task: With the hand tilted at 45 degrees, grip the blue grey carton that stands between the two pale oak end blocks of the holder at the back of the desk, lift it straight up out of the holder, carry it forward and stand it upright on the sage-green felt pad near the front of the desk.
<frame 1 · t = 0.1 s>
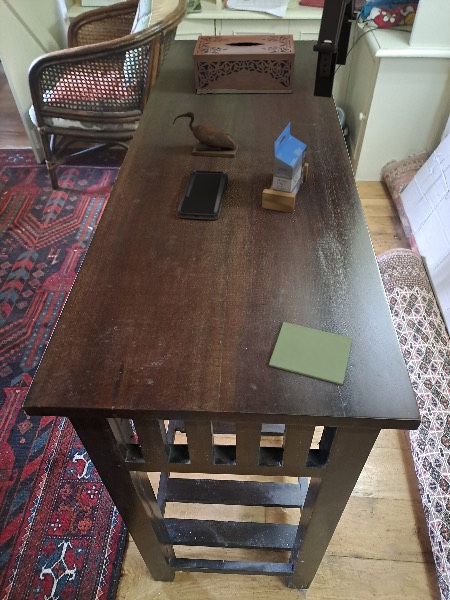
hand: (330, 79, 75), 21 cm above the table, tool pointing down, fingers open, 13 cm apart
blue grey carton: (287, 193, 91), on the table
figurine: (206, 151, 103), on the table
phone: (203, 197, 90), on the table
tape holder: (285, 192, 91), on the table
tissue box cover: (244, 84, 128), on the table
felt pad: (311, 352, 64), on the table
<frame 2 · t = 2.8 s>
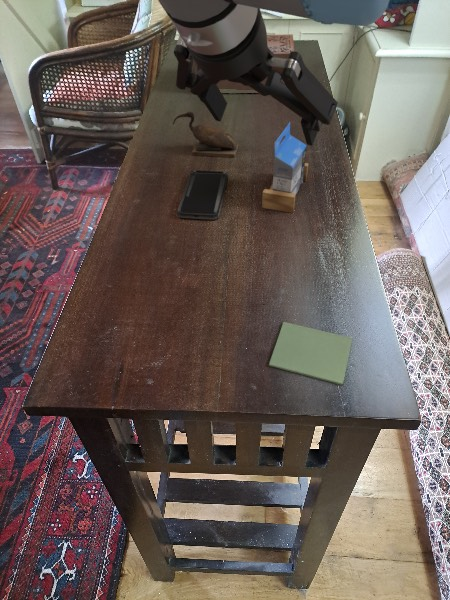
hand: (266, 123, 62), 23 cm above the table, tool tilted 40°, fingers open, 13 cm apart
nothing on the table moved.
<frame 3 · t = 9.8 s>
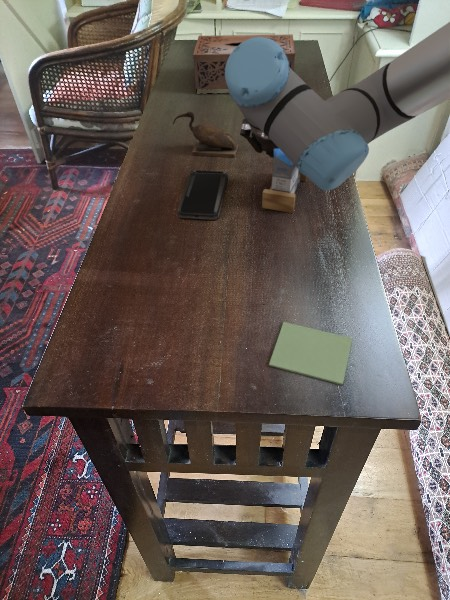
hand: (292, 161, 89), 5 cm above the table, tool tilted 45°, fingers closed on blue grey carton, 4 cm apart
blue grey carton: (285, 193, 91), on the table, touching gripper
everything else where it was.
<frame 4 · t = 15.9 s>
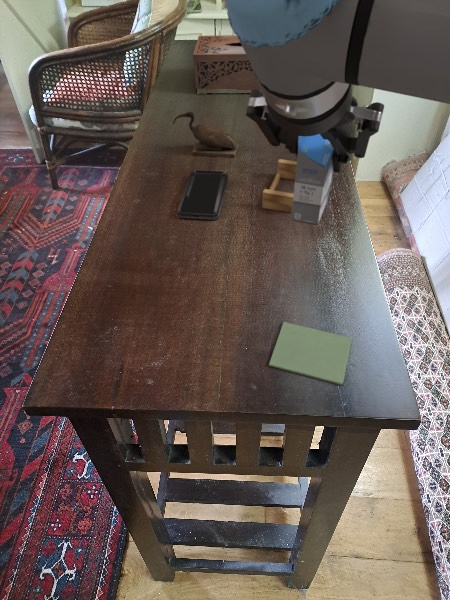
hand: (322, 159, 61), 20 cm above the table, tool tilted 45°, fingers closed on blue grey carton, 4 cm apart
blue grey carton: (311, 206, 62), point 15 cm above the table, touching gripper
everything else where it was.
when the fingers open (5 cm above the table, at t = 21.8 s): blue grey carton stays where it is, resting on felt pad.
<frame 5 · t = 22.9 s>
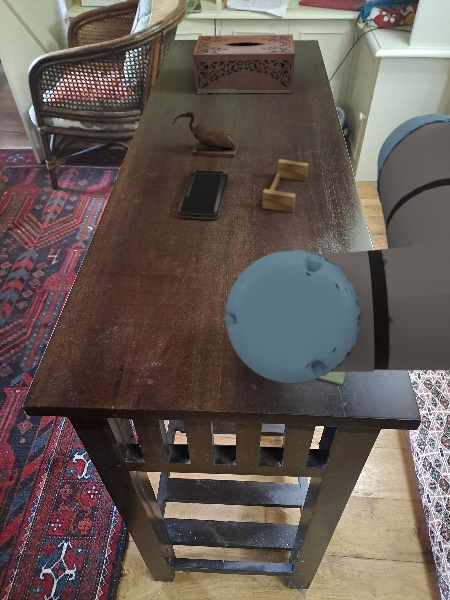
hand: (321, 305, 60), 7 cm above the table, tool tilted 45°, fingers open, 13 cm apart
blue grey carton: (310, 351, 64), resting on felt pad
everything else where it was.
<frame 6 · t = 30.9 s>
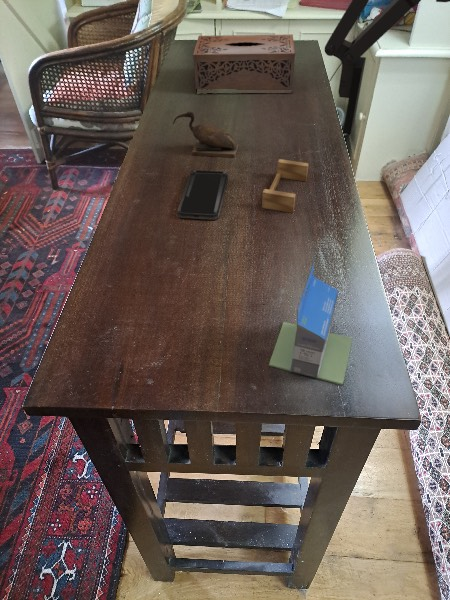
hand: (416, 137, 46), 29 cm above the table, tool pointing down, fingers open, 13 cm apart
nothing on the table moved.
at the end: blue grey carton inside the target area on the felt pad (0.1 cm from its centre), point 0.2 cm above the felt pad's base; blue grey carton tilted 0°; the gripper is holding nothing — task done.
